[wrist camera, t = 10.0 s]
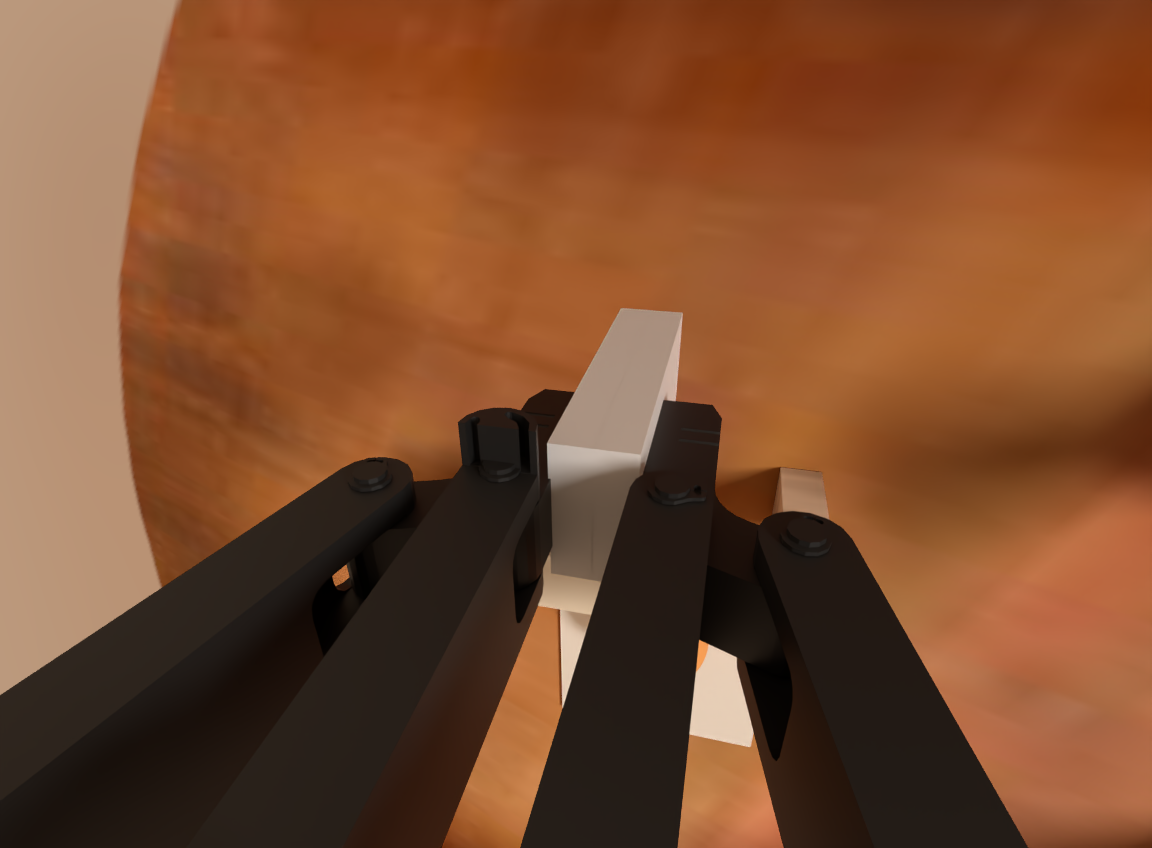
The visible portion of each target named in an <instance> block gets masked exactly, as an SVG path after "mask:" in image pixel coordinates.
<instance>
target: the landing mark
mask: <svg viewBox="0 0 1152 848" xmlns="http://www.w3.org/2000/svg"><path fill="white" fill-rule="evenodd" d="M590 617H591V615H588V614H583V613H577V612H572V611H566V610H560V626H561V670H562V707H563V706H564V702H565V699H566V696H567V693H568V689H569V686H570V683H571V679H572V676H573V673H574V670H575V666H576V663H577V660H578V656H579V653H580V650H581V647H582V643H583V640H584V637H585V633H586V630H587V627H588V624H589V620H590ZM689 734H690V735H695V736H700V737H705V738H709V739H714V740H719V741H723V742H728V743H733V744H738V745H742V746H747V747H751V742H752V737H753V728H752V724H751V720H750V716H749V712H748V709H747V705H746V701H745V697H744V693H743V689H742V686H741V682H740V678H739V674H738V670H737V657H735V656H733V655H731V654H728V653H726V652H724V651H722V650H720V649H718V648H716V647H713V646H711V645H708V651H707V654H706V657H705V659H704V661H703V663H702V665H701V667H700V668H699V669H698V671H697V672H696V676H695V685H694V695H693V704H692V714H691V723H690V733H689Z"/></svg>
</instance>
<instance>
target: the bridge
mask: <svg viewBox="0 0 1152 848" xmlns="http://www.w3.org/2000/svg"><path fill="white" fill-rule="evenodd" d="M787 511H798V512H807V513H812V514H815V515H818V516H821V517H824V518H827V519H829V515H828V508H827V502H826V495H825V489H824V482H823V476H822V472H816V471H808V470H800V469H791V468H783V467H781V468H780V473H779V479H778V485H777V490H776V496H775V501H774V507H773V512H772V515H773V514H775V513H780V512H787ZM543 580H544V586H543V594H542V597H541V599H540V602H539V604H538V606H544V607H549V608H555V609H560V610H566V611H572V612H577V613H583V614H588V615H591V614H592V610H593V607H594V604H595V601H596V597H597V594H598V591H599V587H600V584H601V582H600V581H594V580H588V579H582V578H576V577H570V576H564V575H558V574H552V573H551V555H550V553H549V556H548V558H547V561H546V563H545V565H544V568H543Z"/></svg>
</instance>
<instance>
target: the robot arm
mask: <svg viewBox="0 0 1152 848" xmlns="http://www.w3.org/2000/svg"><path fill="white" fill-rule="evenodd" d="M682 316H683V313H678V312H665V311H652V310H639V309H626V308H621V309H620V311H619V313H618V315H617V317H616V318H615V320H614V322H613V324H612V326H611V327H610V329H609V331H608V333H607V335H606V337H605V338H604V340H603V342H602V344H601V346H600V348H599V349H598V351H597V353H596V355H595V357H594V358H593V360H592V362H591V364H590V366H589V368H588V369H587V371H586V373H585V375H584V377H583V379H582V380H581V382H580V384H579V386H578V388H577V389H576V391H575V392H567V391H557V390H548V389H545V390H543V391H541V392H539V393H538V394H536V395H534V396H533V397H531V398H529V399H528V401H527V402H526V403H525V405H524V406H523V408H522V409H521V410H516V409H512V408H490V409H484V410H479V411H477V412H474V413H471V414H469V415H467V416H465V417H464V418H463V419H461V420H460V421H459V422H458V427H459V437H460V446H461V455H462V464H463V465H462V466H461V468H460V469H459V471H458V472H457V473H456V475H455V476H454V478H452V479H444V480H433V481H417V482H414V481H413V474H412V471H411V469H410V468H409V466H408V464H406V463H404V462H402V461H400V460H398V459H392V458H386V457H377V458H376V457H374V458H367V459H365V460H361V461H357V462H354V463H352V464H350V465H348V466H346V467H344V468H342V469H340V470H339V471H337V472H336V473H334V474H333V475H331V476H330V477H328V478H326V479H325V480H323V481H322V482H320V483H319V484H317V485H316V486H314V487H313V488H311V489H310V490H308V491H307V492H305V493H304V494H302V495H301V496H299V497H298V498H296V499H295V500H293V501H292V502H290V503H289V504H287V505H286V506H284V507H283V508H281V509H280V510H278V511H277V512H275V513H274V514H272V515H271V516H269V517H268V518H266V519H265V520H263V521H262V522H260V523H259V524H257V525H256V526H254V527H253V528H251V529H250V530H248V531H247V532H245V533H244V534H242V535H241V536H239V537H238V538H236V539H235V540H233V541H232V542H230V543H229V544H227V545H226V546H224V547H223V548H221V549H220V550H218V551H217V552H215V553H214V554H212V555H211V556H209V557H208V558H206V559H205V560H203V561H202V562H200V563H199V564H197V565H196V566H194V567H192V568H191V569H189V570H188V571H186V572H185V573H183V574H182V575H180V576H179V577H177V578H176V579H174V580H173V581H171V582H170V583H168V584H167V585H165V586H164V587H162V588H161V589H159V590H158V591H157V592H155V593H153V594H152V595H151V596H149V597H148V598H146V599H144V600H143V601H141V602H140V603H138V604H137V605H135V606H134V607H132V608H131V609H129V610H128V611H126V612H125V613H123V614H122V615H120V616H119V617H117V618H116V619H114V620H113V621H111V622H110V623H108V624H107V625H105V626H104V627H102V628H101V629H99V630H98V631H96V632H95V633H93V634H92V635H90V636H89V637H87V638H86V639H84V640H83V641H81V642H80V643H78V644H77V645H75V646H74V647H72V648H71V649H69V650H68V651H66V652H65V653H63V654H61V655H60V656H58V657H57V658H55V659H54V660H53V661H51V662H50V663H48V664H46V665H45V666H44V667H42V668H40V669H39V670H37V671H36V672H34V673H33V674H31V675H30V676H28V677H27V678H25V679H24V680H22V681H21V682H19V683H18V684H16V685H15V686H13V687H12V688H10V689H9V690H7V691H6V692H4V693H3V694H1V695H0V848H441V847H442V845H443V842H444V840H445V837H446V835H447V832H448V830H449V827H450V825H451V822H452V820H453V817H454V815H455V812H456V810H457V807H458V805H459V802H460V800H461V797H462V795H463V792H464V790H465V787H466V785H467V782H468V780H469V777H470V775H471V772H472V770H473V767H474V765H475V762H476V760H477V757H478V755H479V752H480V750H481V747H482V745H483V742H484V740H485V737H486V735H487V732H488V730H489V727H490V725H491V722H492V720H493V717H494V714H495V712H496V709H497V707H498V704H499V702H500V699H501V697H502V694H503V692H504V689H505V687H506V684H507V682H508V679H509V677H510V674H511V672H512V669H513V667H514V664H515V662H516V659H517V657H518V654H519V652H520V649H521V647H522V644H523V642H524V639H525V637H526V634H527V632H528V629H529V627H530V624H531V622H532V619H533V617H534V614H535V612H536V609H537V607H538V604H539V602H540V599H541V597H542V594H543V586H544V580H543V568H544V565H545V563H546V561H547V558H548V556H549V553H550V555H551V573H552V574H558V575H564V576H570V577H576V578H582V579H588V580H594V581H600V582H601V584H600V587H599V591H598V594H597V597H596V601H595V604H594V607H593V610H592V614H591V617H590V620H589V624H588V627H587V630H586V633H585V637H584V640H583V643H582V647H581V650H580V653H579V656H578V660H577V663H576V666H575V670H574V673H573V676H572V679H571V683H570V686H569V689H568V693H567V696H566V699H565V702H564V706H563V709H562V712H561V716H560V719H559V722H558V725H557V729H556V732H555V735H554V739H553V742H552V745H551V748H550V752H549V755H548V758H547V762H546V765H545V768H544V771H543V775H542V778H541V781H540V785H539V788H538V791H537V794H536V798H535V801H534V804H533V808H532V811H531V814H530V817H529V821H528V824H527V827H526V831H525V834H524V837H523V840H522V844H521V847H520V848H677V847H678V837H679V828H680V818H681V809H682V799H683V790H684V780H685V771H686V761H687V752H688V742H689V733H690V723H691V714H692V704H693V695H694V685H695V676H696V667H697V657H698V648H699V640H701V641H703V642H705V643H707V644H709V645H711V646H713V647H716V648H718V649H720V650H722V651H724V652H726V653H728V654H731V655H733V656H735V657H737V670H738V674H739V678H740V682H741V686H742V689H743V693H744V697H745V701H746V705H747V709H748V712H749V716H750V720H751V724H752V728H753V732H754V736H755V739H756V743H757V747H758V751H759V755H760V759H761V762H762V766H763V770H764V774H765V778H766V782H767V785H768V789H769V793H770V797H771V801H772V805H773V809H774V812H775V816H776V820H777V824H778V828H779V832H780V835H781V839H782V843H783V847H784V848H1028V847H1027V845H1026V843H1025V841H1024V839H1023V838H1022V836H1021V834H1020V832H1019V831H1018V829H1017V827H1016V825H1015V824H1014V822H1013V820H1012V818H1011V817H1010V815H1009V813H1008V811H1007V810H1006V808H1005V806H1004V804H1003V803H1002V801H1001V799H1000V797H999V796H998V794H997V792H996V790H995V789H994V787H993V785H992V783H991V782H990V780H989V778H988V776H987V775H986V773H985V771H984V769H983V768H982V766H981V764H980V762H979V761H978V759H977V757H976V755H975V754H974V752H973V750H972V748H971V747H970V745H969V743H968V741H967V740H966V738H965V736H964V734H963V732H962V731H961V729H960V727H959V725H958V724H957V722H956V720H955V718H954V717H953V715H952V713H951V711H950V710H949V708H948V706H947V704H946V703H945V701H944V699H943V697H942V696H941V694H940V692H939V690H938V689H937V687H936V685H935V683H934V682H933V680H932V678H931V676H930V675H929V673H928V671H927V669H926V668H925V666H924V664H923V662H922V661H921V659H920V657H919V655H918V654H917V652H916V650H915V648H914V647H913V645H912V643H911V641H910V640H909V638H908V636H907V634H906V633H905V631H904V629H903V627H902V626H901V624H900V622H899V620H898V618H897V617H896V615H895V613H894V611H893V610H892V608H891V606H890V604H889V603H888V601H887V599H886V597H885V596H884V594H883V592H882V590H881V589H880V587H879V585H878V583H877V582H876V580H875V578H874V576H873V575H872V573H871V571H870V569H869V568H868V566H867V564H866V562H865V561H864V559H863V557H862V555H861V554H860V552H859V550H858V548H857V547H856V545H855V543H854V541H853V540H852V538H851V537H850V536H849V535H848V534H847V533H846V531H845V530H844V529H843V528H842V527H840V526H838V525H837V524H835V523H834V522H832V521H830V520H829V519H827V518H824V517H821V516H818V515H815V514H812V513H807V512H798V511H787V512H780V513H775V514H773V515H771V516H769V517H767V518H765V519H764V520H763V521H762V523H761V524H760V525H757V524H754V523H752V522H749V521H746V520H744V519H742V518H740V517H737V516H736V515H734V514H733V513H731V512H730V511H728V510H727V509H726V508H725V507H724V506H723V505H722V504H721V503H720V502H719V500H718V498H717V497H716V494H715V480H716V470H717V460H718V450H719V441H720V431H721V421H722V418H721V417H720V415H719V414H718V412H717V411H716V409H715V408H714V406H713V405H707V404H697V403H688V402H678V401H676V391H677V378H678V366H679V353H680V341H681V328H682ZM346 564H347V568H348V572H349V576H350V577H349V578H348V579H347V580H346V581H345V582H343V583H342V584H340V585H338V586H335V585H334V582H333V578H332V576H333V575H334V574H335V573H336V572H337V571H339V570H340V569H341V568H342V567H343V566H345V565H346Z"/></svg>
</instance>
